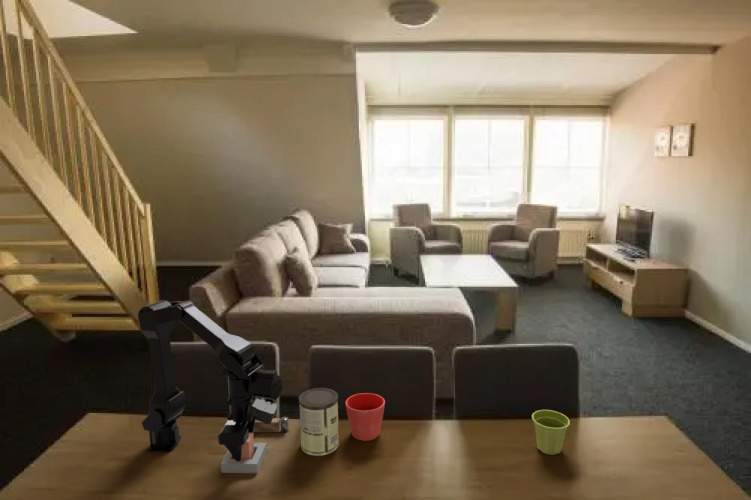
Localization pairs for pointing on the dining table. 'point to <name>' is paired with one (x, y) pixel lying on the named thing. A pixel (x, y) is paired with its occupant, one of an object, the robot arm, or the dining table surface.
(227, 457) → the socket
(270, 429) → the leg bar
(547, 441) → the plant pot
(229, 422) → the stop block
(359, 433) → the flower pot
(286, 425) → the pivot pin
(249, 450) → the leg peg
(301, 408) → the coffee can
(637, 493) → the dining table surface
